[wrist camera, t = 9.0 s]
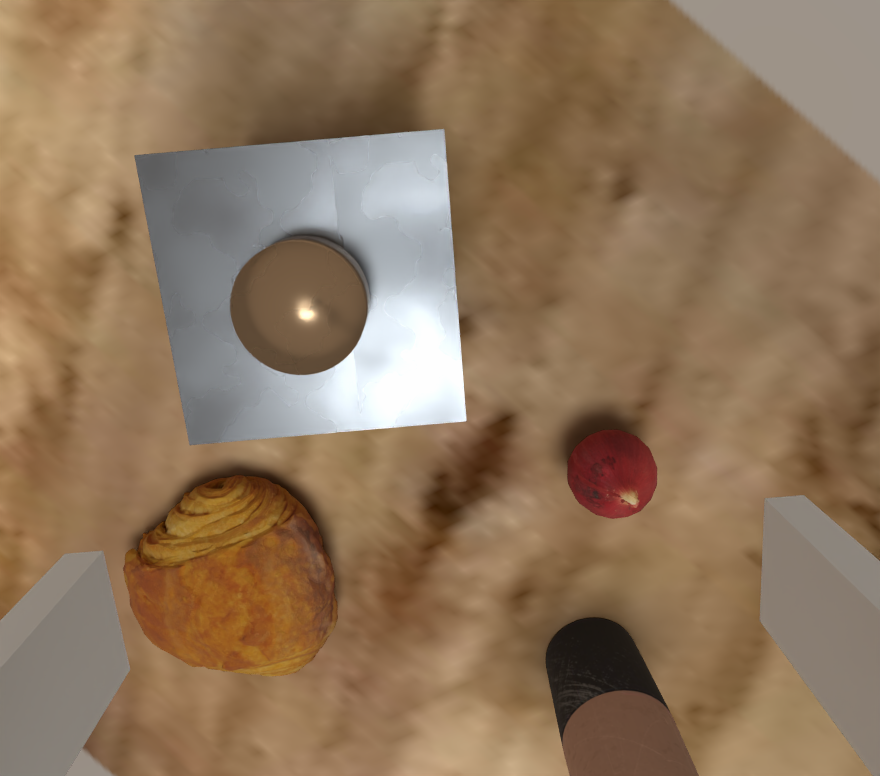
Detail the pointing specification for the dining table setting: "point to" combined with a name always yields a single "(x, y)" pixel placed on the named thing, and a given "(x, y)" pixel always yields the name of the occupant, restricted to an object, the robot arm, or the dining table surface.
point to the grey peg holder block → (326, 216)
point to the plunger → (300, 305)
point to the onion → (612, 473)
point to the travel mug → (611, 705)
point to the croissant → (235, 580)
